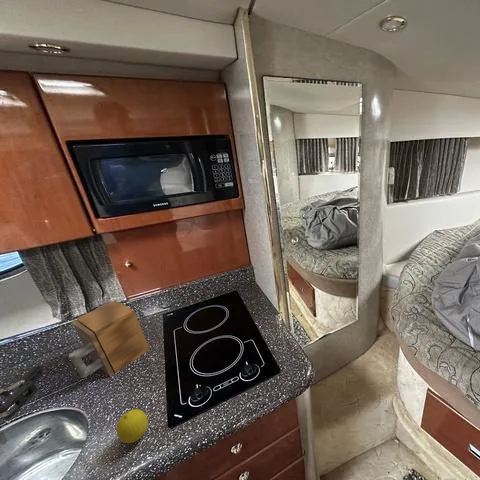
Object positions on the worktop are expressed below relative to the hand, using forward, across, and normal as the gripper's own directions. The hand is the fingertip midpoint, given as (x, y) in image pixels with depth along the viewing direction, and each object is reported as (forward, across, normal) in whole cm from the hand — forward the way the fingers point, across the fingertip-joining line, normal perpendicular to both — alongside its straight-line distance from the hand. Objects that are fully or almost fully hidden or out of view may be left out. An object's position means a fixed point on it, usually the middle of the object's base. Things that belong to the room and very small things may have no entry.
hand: (16, 372), depth 53 cm
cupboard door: (+16, +1, +19) cm, 25 cm away
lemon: (-6, -20, +20) cm, 29 cm away
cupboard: (+22, -4, +19) cm, 30 cm away
